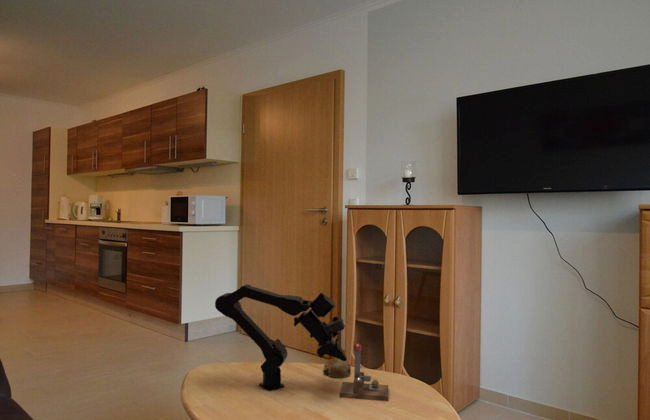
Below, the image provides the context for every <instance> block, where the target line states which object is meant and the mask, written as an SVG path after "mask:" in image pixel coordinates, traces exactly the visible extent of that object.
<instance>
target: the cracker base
mask: <svg viewBox="0 0 650 420" xmlns="http://www.w3.org/2000/svg"><path fill="white" fill-rule="evenodd" d="M360 374H362V376H365V372H364V371H360ZM339 398H344V399H345V398H346V399H358V400H359V399H360V400H371V401H381V402H382V401H384V402H388V401H389V384H379V381H378V379H373V380H372V381H371V383H367V382H366V383H365V381H359V380H353V382H349V381H342V383H341V387H340V389H339Z"/></svg>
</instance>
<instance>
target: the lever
mask: <svg viewBox="0 0 650 420" xmlns="http://www.w3.org/2000/svg"><path fill="white" fill-rule="evenodd" d="M362 350H363V347H362V345H361V344H360V343H359V342H358V343H355V344H354V345H353V351H354V375H353V379H354V380H359V381H364V382H366V383H367V382H369V383H370V382H371V383H372V381H371V380H372V376H371V375H364V376H362V374H360V372H361V351H362ZM354 380H353V381H354Z"/></svg>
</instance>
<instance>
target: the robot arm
mask: <svg viewBox="0 0 650 420" xmlns="http://www.w3.org/2000/svg"><path fill="white" fill-rule="evenodd" d="M244 298H247V299H251V300H254V301H257V302H261V303H263V304H267V305H269V306H270V305H271V306H272V307H277V308H278V309H279V310H280V311H282V312H284V313H286V314H287V315H290V316H292V317H294V318H293V321H294V322H293V326H294V327H297V325H298V324H300V325H301V326H302V328H304V329H305V330H306V331H307V332H308V333H309V337H310V338H311V339H312V338H313V339H314V340H315V341H316V342H317V346H318V348H317V350H316V355H318V357H319V358H320V359H322V358H323V357H324V356H325V355H328V356H330V357H333V358H337V359H340V360H342V361H346V360H347V356H346V354H345V352H344V351H343V349H342V347H341V345H340V336H338V337H337V335H339V334H340V333H341V331H343V330H344V329H345V323H344V320H343V318H342V317H339V316H338V315H337V316H336V315H335V316H333V317H332V321H330V322H328V323H327V322H326V321H322V320H321V319H319V318H325V317H326V316H327V315H328V314H329V313H330V312H331V311H333V309H335V307H336V304H335V302H334V301H333V300H332V298H331V297H329V296H327V295H326V294H324V293H323V292H319V294H318V295H317V297H316V298H315V299H313V301H312V300H305V299H303V297H301V296H298V295H291V294H290V295H288V294H279V293H275V292H272V291H269V290H266V289H263V288H262V289H261V288H258V287H256V286H252V285H251V284H244V285H242V286H240V287H239V288H238V289H236V290H235V291H233V292H226V293H224V294H222V295H219V296H218V297H217V298H216V299H215V301H214V307H215V310H217V312H219V313H220V314H222V315H223V316H225V317H227V318H229V319H231V320H233V321H234V322H235V323H236V324H237V325H238V326H239V328H241V330H242V331H243V332H244V333H245V335H247V336H248V338H249V339H251V340H252V341H253V342H254V343H255V345H257V347H258V348H259V349H260V350H261V352H262V355H263V357H264V359H265V360H264V362H262V364H261V365H260V369H261V372H262V382H260V383H259V384H258V386H259V387H261V388H264V389H265V390H267V391H269V392H270V391H273V390H276V389H281V388H284V387H285V385H284V384H283V383H282V374H281V372H282V369H281V366H282V365H283V364H284V363H285V361H286V359H287V357H288V350H287V348H286V347H287V345H285V344H283V343H282V341H281V340H280V339H279V338H277V339H276V340H273V339H271V338H270V337H269V336H268V335H267V334H266V333H265V332H264V331H263V330H262V328H260V327H259V326H258V325H257V323H255V322H254V321H253V319H252V318H251V317H250V316H249V315H248V314H247V313H246V312H245V311H244V310H243V308H242V306H241V303H240V300H242V299H244ZM300 313H301V314H300ZM335 337H337V338H335ZM347 361H348V360H347Z"/></svg>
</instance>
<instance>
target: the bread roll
mask: <svg viewBox="0 0 650 420" xmlns="http://www.w3.org/2000/svg"><path fill="white" fill-rule="evenodd" d="M351 368H352V367H351V364H350V363H349V361H348V360H346V361H342V360H340V359H337V358H335V357H333V358H330V359H329V360H328V361H327V362H326V363H325V364H324V366H323V370H322V372H323V374H325V376H327V377H329V378H333V379H334V378H335V379H344V378H349V377H350V376H351V371H352V369H351Z"/></svg>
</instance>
